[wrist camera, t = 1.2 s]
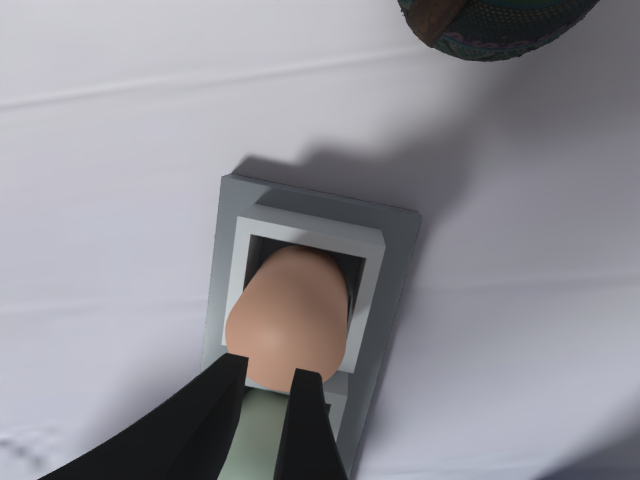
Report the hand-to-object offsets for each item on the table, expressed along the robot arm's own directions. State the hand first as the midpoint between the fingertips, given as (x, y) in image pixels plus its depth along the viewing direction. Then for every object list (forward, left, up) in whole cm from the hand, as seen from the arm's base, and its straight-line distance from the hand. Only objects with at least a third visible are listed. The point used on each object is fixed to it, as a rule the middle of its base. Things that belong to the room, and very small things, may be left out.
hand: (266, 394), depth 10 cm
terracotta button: (0, 0, -7) cm, 7 cm away
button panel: (-7, 0, -9) cm, 12 cm away
